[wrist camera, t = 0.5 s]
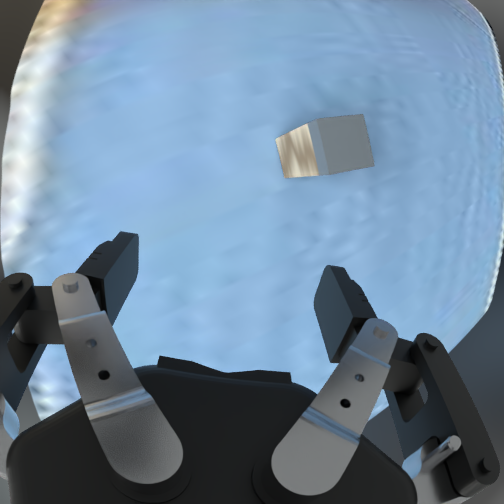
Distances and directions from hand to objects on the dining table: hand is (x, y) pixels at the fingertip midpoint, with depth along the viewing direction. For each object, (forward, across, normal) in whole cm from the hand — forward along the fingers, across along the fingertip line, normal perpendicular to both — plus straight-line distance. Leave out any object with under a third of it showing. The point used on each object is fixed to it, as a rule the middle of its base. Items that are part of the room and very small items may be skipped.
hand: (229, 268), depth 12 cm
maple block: (+26, -7, -2) cm, 28 cm away
